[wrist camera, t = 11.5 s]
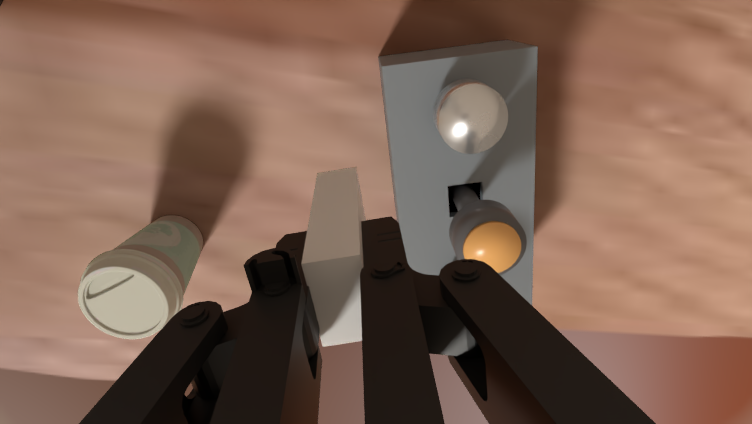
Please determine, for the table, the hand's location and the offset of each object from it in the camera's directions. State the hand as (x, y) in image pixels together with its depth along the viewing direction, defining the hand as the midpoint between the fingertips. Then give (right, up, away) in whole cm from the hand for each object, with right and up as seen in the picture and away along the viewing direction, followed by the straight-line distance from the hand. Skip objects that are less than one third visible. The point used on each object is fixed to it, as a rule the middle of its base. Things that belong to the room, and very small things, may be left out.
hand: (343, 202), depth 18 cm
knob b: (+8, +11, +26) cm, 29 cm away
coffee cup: (-20, -3, +32) cm, 38 cm away
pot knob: (+9, +2, +25) cm, 26 cm away
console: (+9, +4, +30) cm, 31 cm away
